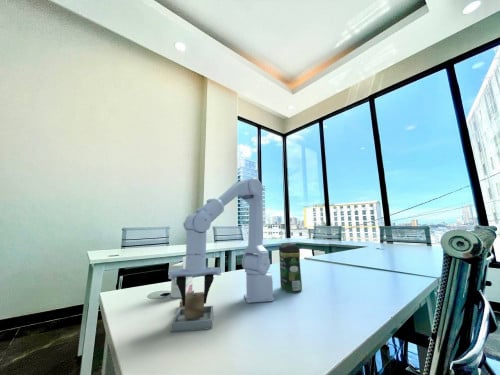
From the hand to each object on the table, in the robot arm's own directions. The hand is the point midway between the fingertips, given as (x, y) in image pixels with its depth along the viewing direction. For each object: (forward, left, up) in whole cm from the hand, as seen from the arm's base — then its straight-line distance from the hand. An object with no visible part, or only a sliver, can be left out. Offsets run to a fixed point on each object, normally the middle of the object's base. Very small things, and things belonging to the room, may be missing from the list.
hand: (194, 303), depth 59 cm
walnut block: (0, 0, -3) cm, 3 cm away
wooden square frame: (+2, -11, -5) cm, 12 cm away
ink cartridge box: (+7, -26, -5) cm, 27 cm away
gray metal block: (+2, -10, -5) cm, 12 cm away
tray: (0, 0, -5) cm, 5 cm away
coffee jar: (-37, -23, -5) cm, 43 cm away
